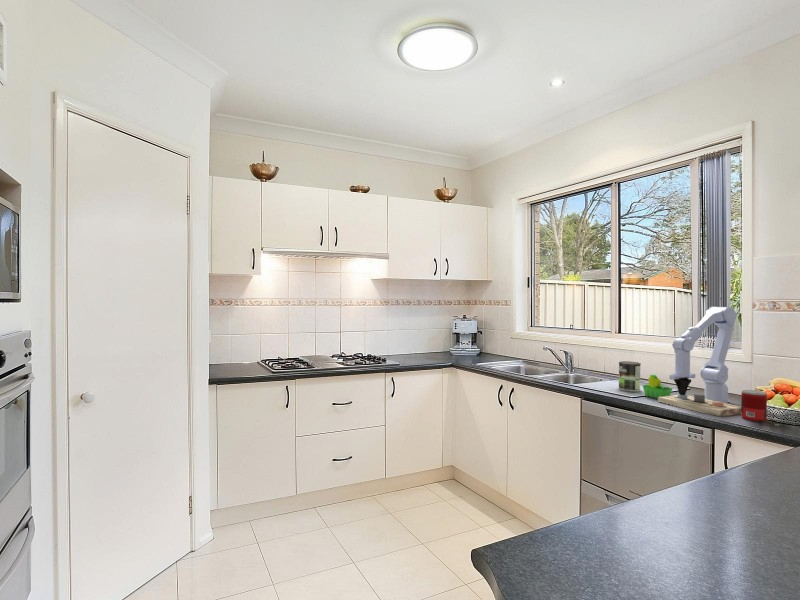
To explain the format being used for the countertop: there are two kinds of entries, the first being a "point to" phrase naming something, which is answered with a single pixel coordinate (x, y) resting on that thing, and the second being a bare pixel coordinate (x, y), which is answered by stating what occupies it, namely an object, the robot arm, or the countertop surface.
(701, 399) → the button charcoal
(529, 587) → the countertop surface
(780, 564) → the countertop surface
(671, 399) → the panel
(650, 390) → the fruit basket
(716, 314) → the robot arm
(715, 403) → the button terracotta
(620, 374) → the coffee can
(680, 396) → the button slate
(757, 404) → the canned food
